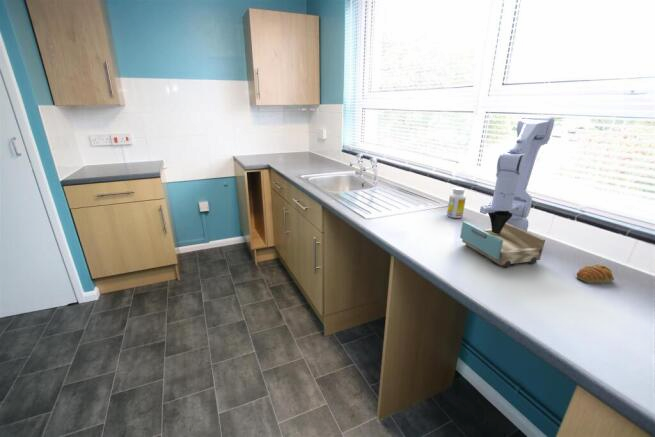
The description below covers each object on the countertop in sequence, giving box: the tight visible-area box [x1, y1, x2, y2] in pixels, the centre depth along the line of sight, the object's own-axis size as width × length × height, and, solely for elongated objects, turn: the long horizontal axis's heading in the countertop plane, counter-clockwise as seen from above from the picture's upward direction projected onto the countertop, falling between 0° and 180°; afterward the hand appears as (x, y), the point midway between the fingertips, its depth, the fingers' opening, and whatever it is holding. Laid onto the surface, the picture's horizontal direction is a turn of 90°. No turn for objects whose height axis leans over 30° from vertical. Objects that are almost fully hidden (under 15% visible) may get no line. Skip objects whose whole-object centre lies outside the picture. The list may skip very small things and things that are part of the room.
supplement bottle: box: [446, 186, 467, 219], centre depth 140 cm, size 7×7×13 cm
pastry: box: [576, 264, 615, 285], centre depth 90 cm, size 9×7×4 cm
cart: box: [461, 223, 546, 269], centre depth 104 cm, size 15×18×8 cm
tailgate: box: [459, 221, 503, 259], centre depth 101 cm, size 2×17×6 cm, turn 15°
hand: (495, 232), depth 102 cm, fingers closed
